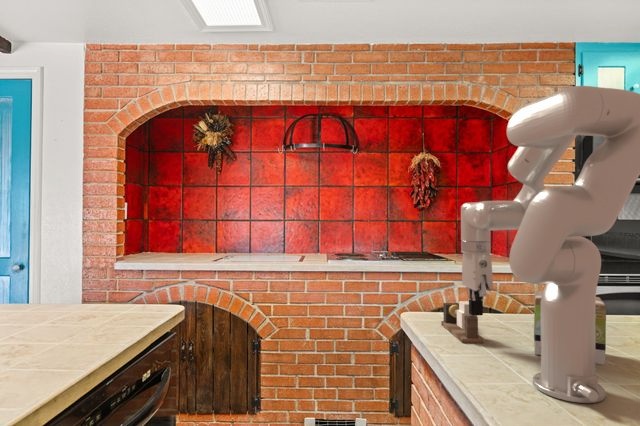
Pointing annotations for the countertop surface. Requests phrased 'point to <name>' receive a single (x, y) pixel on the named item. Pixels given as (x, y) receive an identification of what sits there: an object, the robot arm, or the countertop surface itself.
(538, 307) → the tea box
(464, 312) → the sleeve
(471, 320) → the rail
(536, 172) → the robot arm
